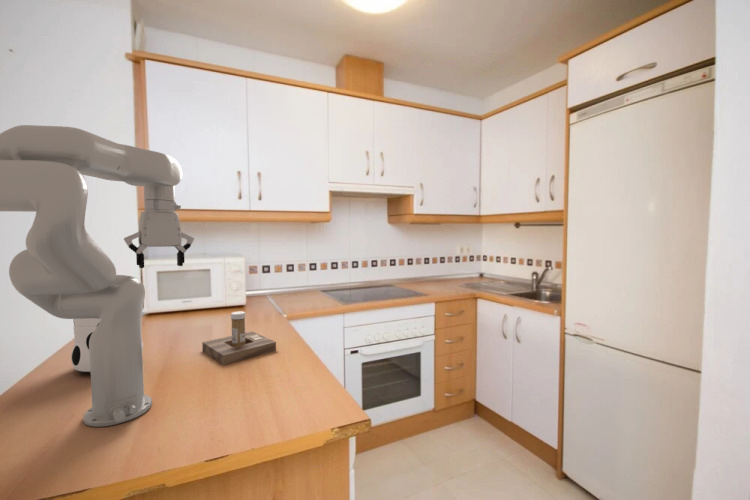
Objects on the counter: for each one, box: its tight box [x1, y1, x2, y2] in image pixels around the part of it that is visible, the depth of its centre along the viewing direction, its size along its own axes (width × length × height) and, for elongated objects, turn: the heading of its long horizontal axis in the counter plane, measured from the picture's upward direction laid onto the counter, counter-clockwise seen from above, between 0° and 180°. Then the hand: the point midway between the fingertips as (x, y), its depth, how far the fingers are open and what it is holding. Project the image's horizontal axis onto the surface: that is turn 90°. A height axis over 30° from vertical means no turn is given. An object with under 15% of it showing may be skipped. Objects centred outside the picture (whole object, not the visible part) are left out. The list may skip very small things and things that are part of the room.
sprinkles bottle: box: [230, 310, 246, 347], centre depth 118 cm, size 5×5×14 cm
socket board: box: [201, 330, 277, 366], centre depth 119 cm, size 18×18×3 cm
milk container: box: [70, 318, 144, 374], centre depth 105 cm, size 17×17×18 cm
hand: (161, 266), depth 99 cm, fingers open, 9 cm apart
